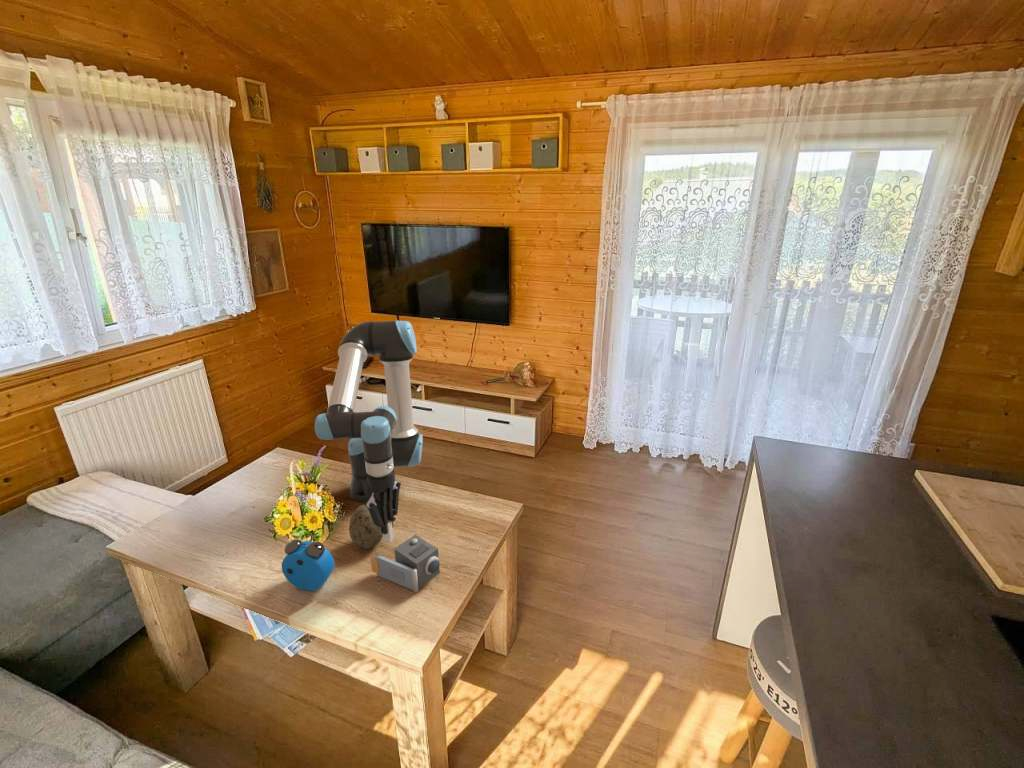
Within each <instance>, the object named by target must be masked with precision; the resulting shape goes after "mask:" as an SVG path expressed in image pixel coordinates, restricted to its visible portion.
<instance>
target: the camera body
mask: <svg viewBox="0 0 1024 768" xmlns="http://www.w3.org/2000/svg"><path fill="white" fill-rule="evenodd" d="M393 551H394V559H395V560H394V561H395V562H398V563H400V564H403V565H405V566H408V567H410V568H412V569H414V568H415V569H417V577H418V587H419V589H421V588H423V587H424V586H425V585H426V584H427V583H429V582H430V581H432V579H434V578H435V577H436V576H438V575H439V574H440V573H441V571H440V568H441V567H440V564H441V563H440V557H439V547H436V546H434V545H433V544H431V543H429V542H428V541H426V540H425V539H423V538H422V537H420V536H418V535H417V534H414V535H412V536H411V537H409V538H407V539H406V540H405V541H403V542H402V543H400V544H399V545H397V546H396V547H395V548H394V549H393Z"/></svg>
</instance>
